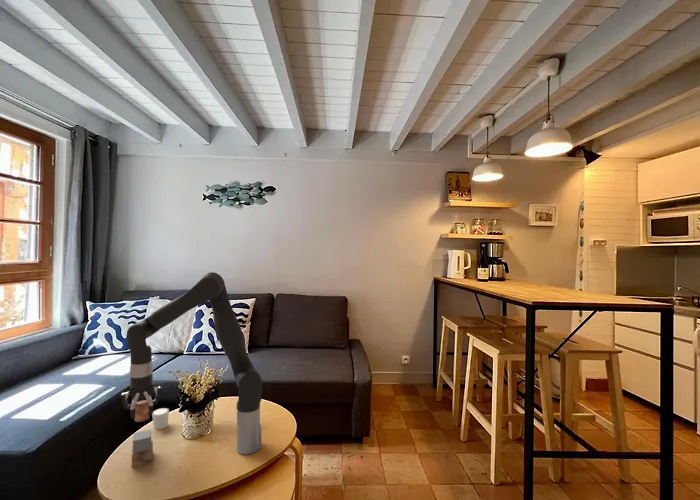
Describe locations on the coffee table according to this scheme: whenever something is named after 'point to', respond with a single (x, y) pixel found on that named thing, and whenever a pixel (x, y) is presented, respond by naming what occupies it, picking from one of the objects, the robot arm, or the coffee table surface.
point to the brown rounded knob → (141, 411)
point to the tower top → (141, 441)
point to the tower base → (142, 457)
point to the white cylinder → (160, 418)
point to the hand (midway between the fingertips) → (141, 416)
